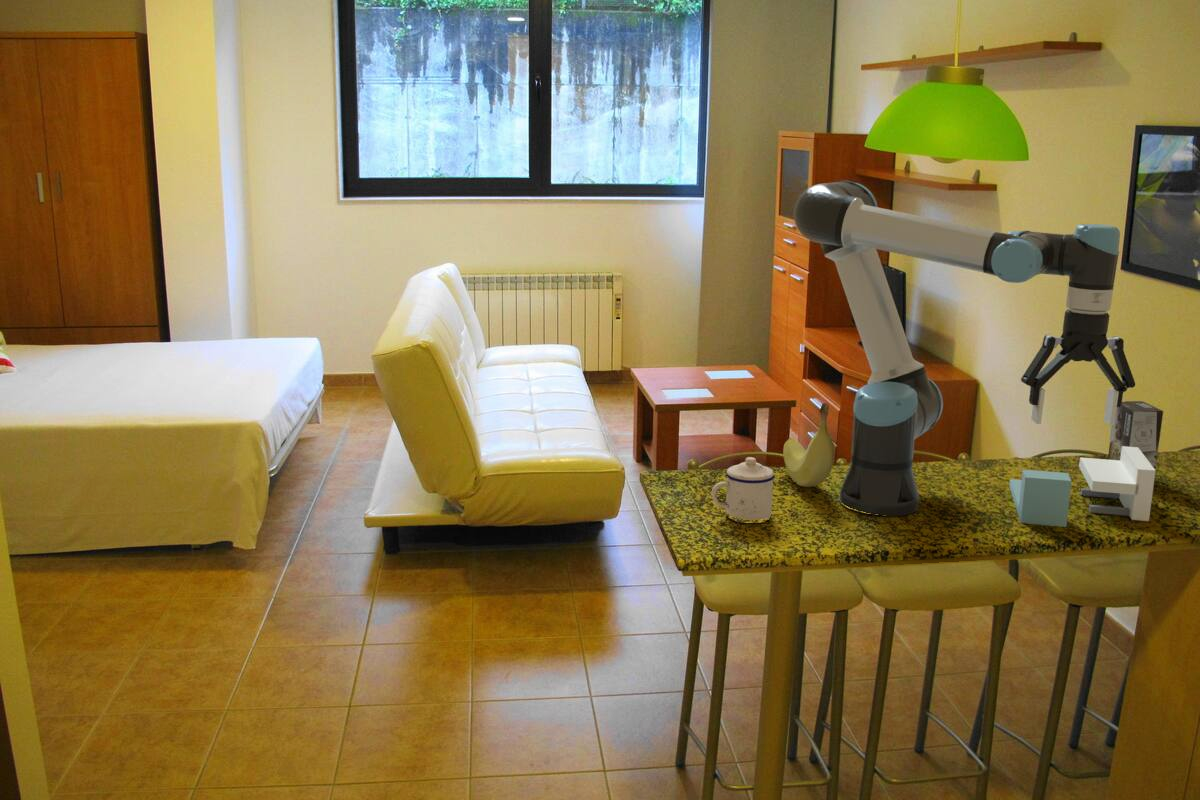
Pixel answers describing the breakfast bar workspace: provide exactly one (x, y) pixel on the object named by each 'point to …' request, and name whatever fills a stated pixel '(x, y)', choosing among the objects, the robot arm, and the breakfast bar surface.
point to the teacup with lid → (747, 490)
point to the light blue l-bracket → (1042, 497)
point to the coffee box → (1136, 430)
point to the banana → (811, 456)
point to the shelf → (1121, 483)
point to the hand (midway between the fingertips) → (1072, 422)
